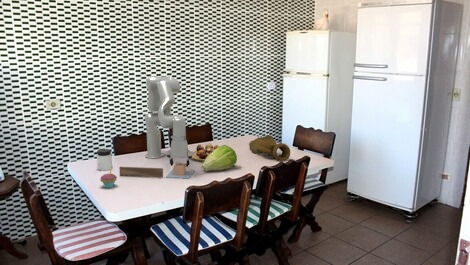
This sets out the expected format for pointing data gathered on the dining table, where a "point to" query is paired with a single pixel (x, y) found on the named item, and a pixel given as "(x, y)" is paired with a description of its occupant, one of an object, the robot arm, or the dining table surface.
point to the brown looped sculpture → (269, 147)
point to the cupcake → (108, 179)
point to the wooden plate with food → (202, 152)
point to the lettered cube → (180, 169)
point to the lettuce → (220, 159)
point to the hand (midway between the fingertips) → (179, 165)
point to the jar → (104, 159)
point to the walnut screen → (141, 172)
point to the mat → (186, 176)
